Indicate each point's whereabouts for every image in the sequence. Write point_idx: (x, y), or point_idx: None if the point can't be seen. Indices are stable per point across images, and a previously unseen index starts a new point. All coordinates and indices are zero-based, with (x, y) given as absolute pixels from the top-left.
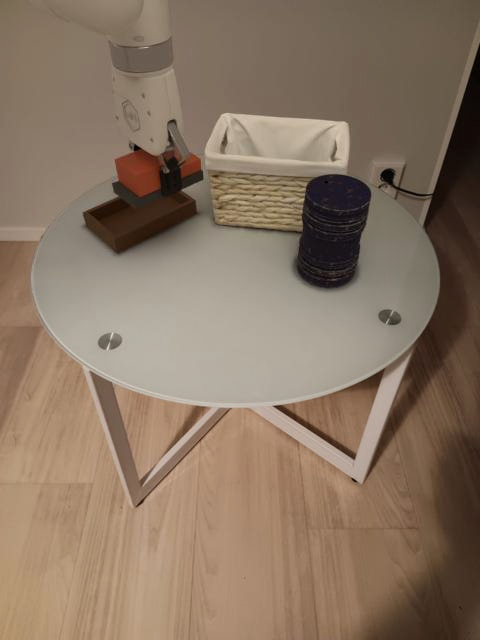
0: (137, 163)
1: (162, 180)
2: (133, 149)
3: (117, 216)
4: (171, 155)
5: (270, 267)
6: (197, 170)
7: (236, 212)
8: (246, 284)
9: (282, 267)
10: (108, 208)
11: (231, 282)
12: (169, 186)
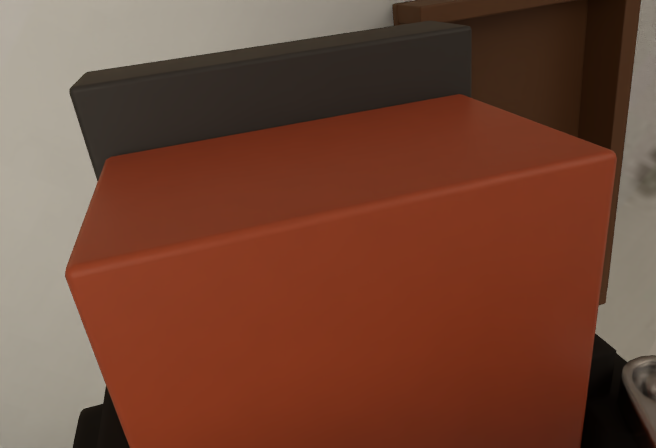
0: (356, 361)
1: (100, 436)
2: (628, 387)
3: (560, 95)
4: None
5: (54, 414)
6: None
7: None
8: (2, 325)
9: (37, 442)
10: (603, 79)
11: (35, 288)
12: (94, 429)
